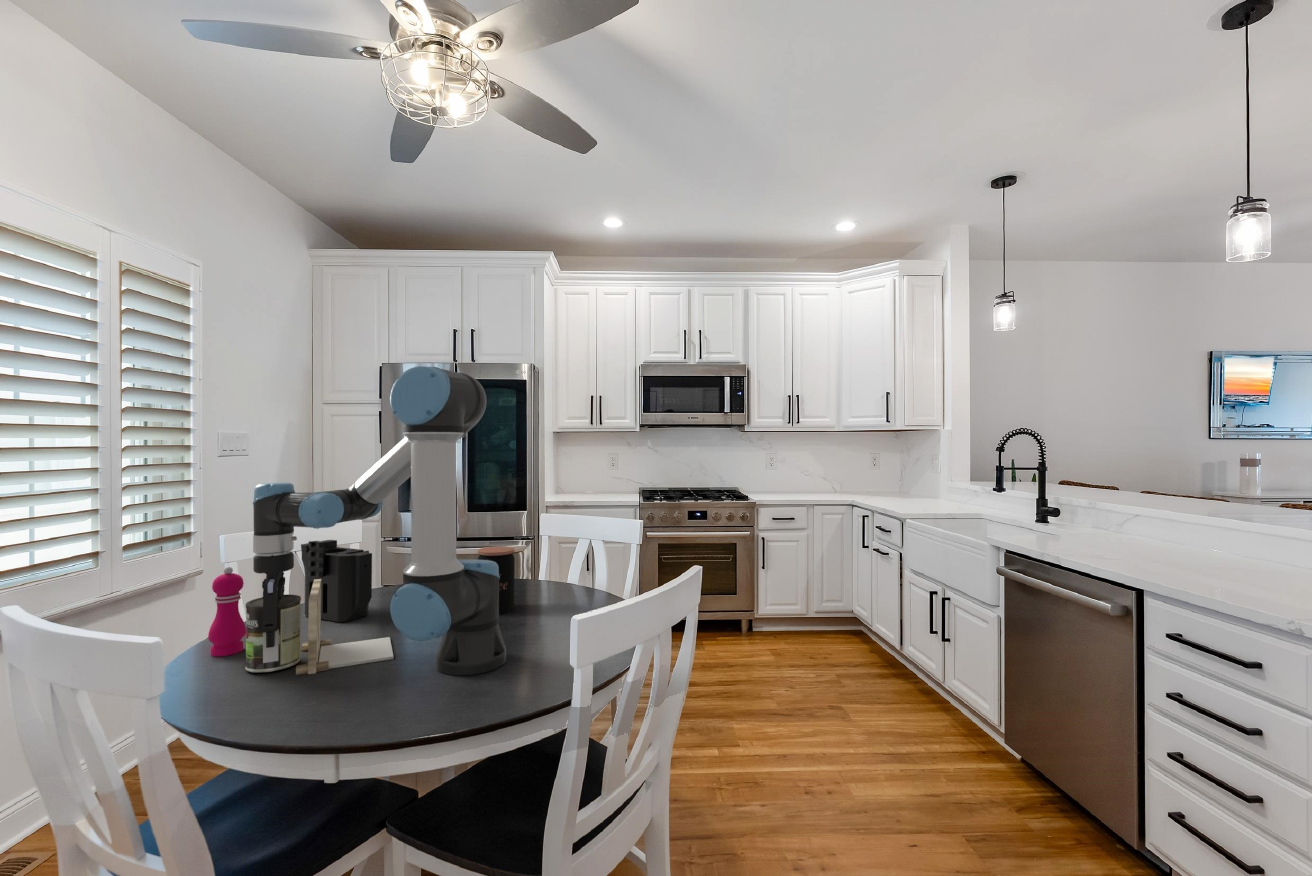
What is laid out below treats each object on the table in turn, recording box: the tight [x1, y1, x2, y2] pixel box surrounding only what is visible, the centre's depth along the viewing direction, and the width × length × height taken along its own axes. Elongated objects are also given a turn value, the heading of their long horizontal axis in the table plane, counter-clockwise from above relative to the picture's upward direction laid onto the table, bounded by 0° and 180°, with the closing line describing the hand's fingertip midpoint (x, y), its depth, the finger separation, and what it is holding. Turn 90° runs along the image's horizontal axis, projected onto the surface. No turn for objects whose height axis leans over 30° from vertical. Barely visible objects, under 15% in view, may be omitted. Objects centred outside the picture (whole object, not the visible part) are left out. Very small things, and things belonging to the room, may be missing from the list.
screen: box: [295, 579, 332, 676], centre depth 134 cm, size 20×6×16 cm, turn 28°
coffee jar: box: [477, 545, 516, 614], centre depth 173 cm, size 11×11×18 cm
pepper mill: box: [207, 566, 246, 658], centre depth 138 cm, size 7×7×20 cm
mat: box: [318, 636, 394, 670], centre depth 137 cm, size 15×15×1 cm
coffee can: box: [245, 594, 302, 673], centre depth 129 cm, size 10×10×14 cm
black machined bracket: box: [300, 539, 373, 623], centre depth 166 cm, size 12×21×22 cm, turn 67°
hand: (273, 653), depth 129 cm, fingers closed on coffee can, 10 cm apart
